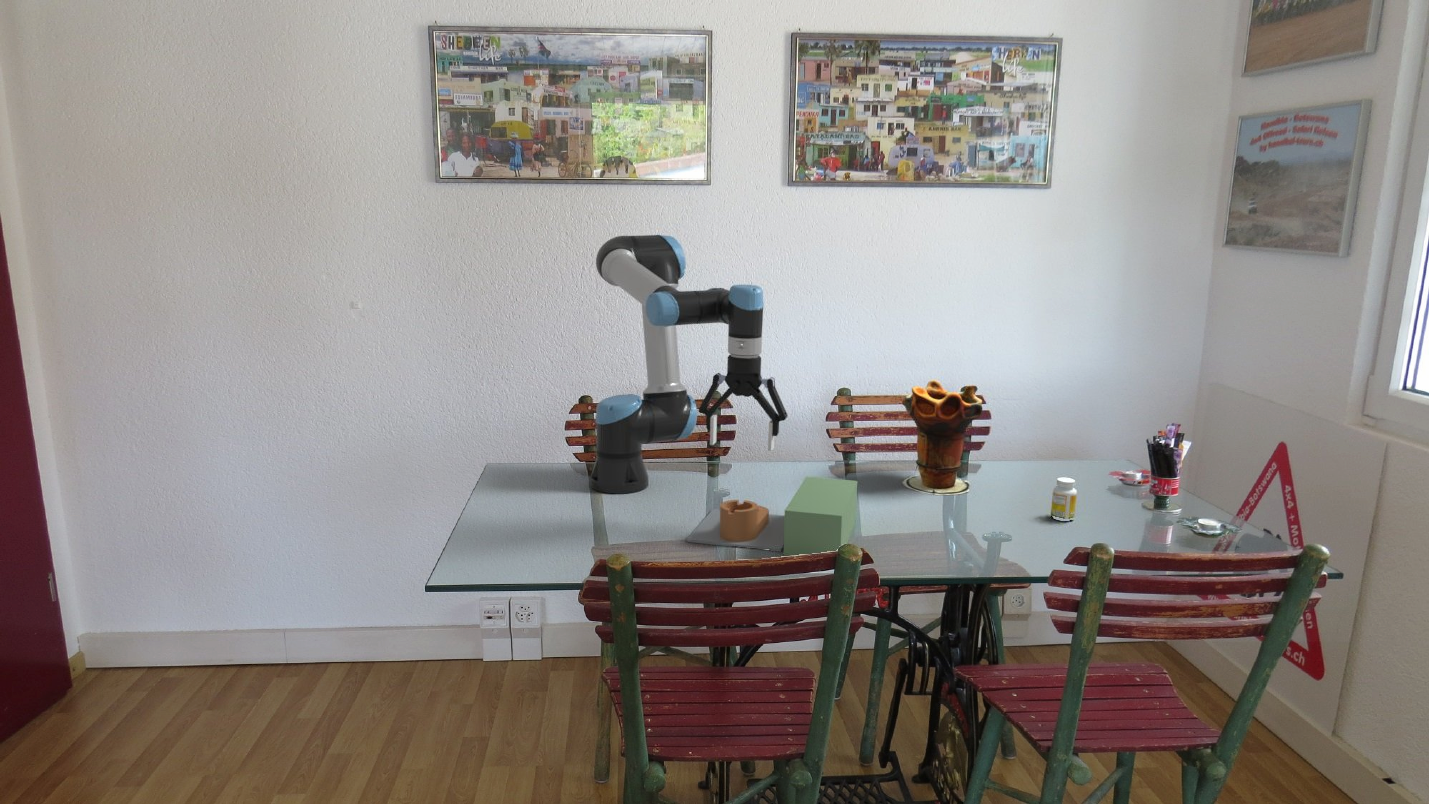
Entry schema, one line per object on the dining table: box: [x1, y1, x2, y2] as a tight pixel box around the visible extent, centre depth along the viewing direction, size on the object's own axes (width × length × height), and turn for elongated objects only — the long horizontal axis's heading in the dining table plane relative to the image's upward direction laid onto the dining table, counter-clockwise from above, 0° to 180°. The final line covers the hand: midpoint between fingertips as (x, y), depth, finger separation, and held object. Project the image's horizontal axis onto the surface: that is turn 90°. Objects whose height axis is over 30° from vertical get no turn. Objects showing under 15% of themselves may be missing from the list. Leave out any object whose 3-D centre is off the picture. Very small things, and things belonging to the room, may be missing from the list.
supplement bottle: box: [1050, 477, 1078, 519], centre depth 228 cm, size 5×5×10 cm
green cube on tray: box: [686, 476, 858, 557], centre depth 216 cm, size 34×26×10 cm
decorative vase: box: [901, 379, 983, 496], centre depth 252 cm, size 21×23×28 cm
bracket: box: [719, 499, 770, 542], centre depth 217 cm, size 18×8×7 cm, turn 162°
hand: (741, 446), depth 219 cm, fingers open, 13 cm apart
